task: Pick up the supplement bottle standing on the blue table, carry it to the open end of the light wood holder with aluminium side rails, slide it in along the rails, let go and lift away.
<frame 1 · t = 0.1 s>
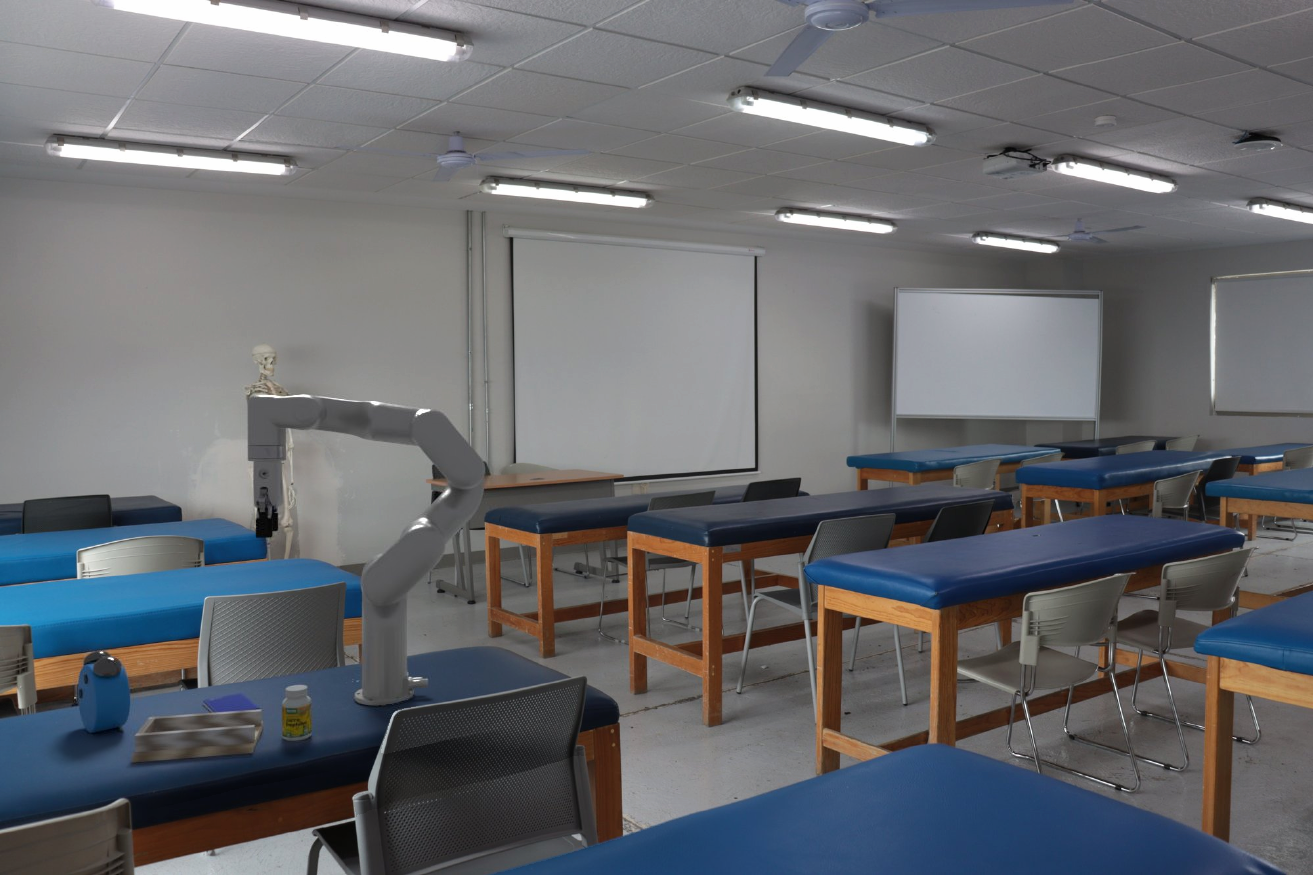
hand: (267, 534, 198), 37 cm above the table, tool pointing down, fingers open, 9 cm apart
hard drive: (231, 711, 198), on the table
rail holder: (201, 743, 177), on the table
alarm clock: (103, 730, 184), on the table
supplement bottle: (296, 737, 181), on the table
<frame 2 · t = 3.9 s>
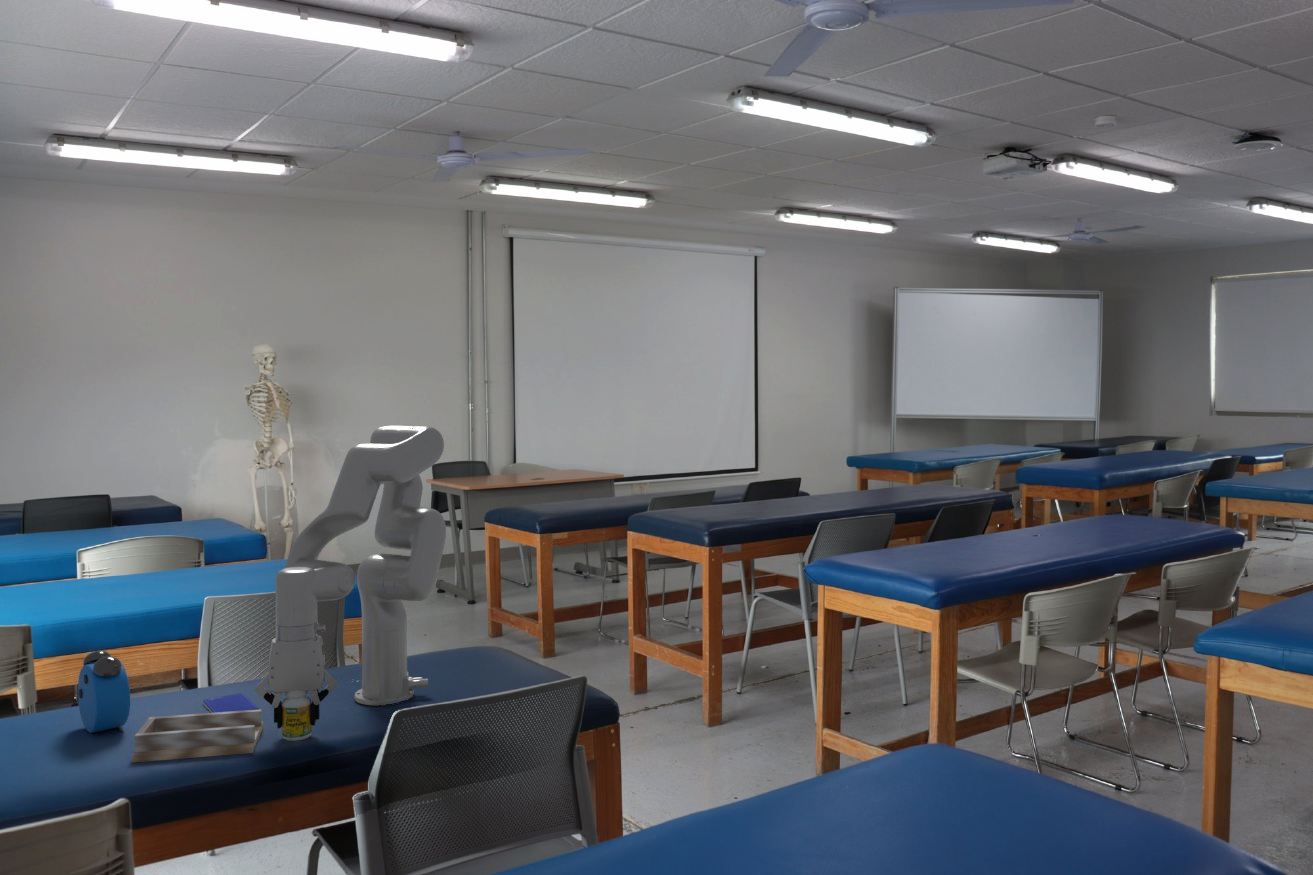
hand: (296, 723, 181), 3 cm above the table, tool pointing down, fingers closed on supplement bottle, 5 cm apart
supplement bottle: (296, 737, 181), on the table, touching gripper
everything else where it was.
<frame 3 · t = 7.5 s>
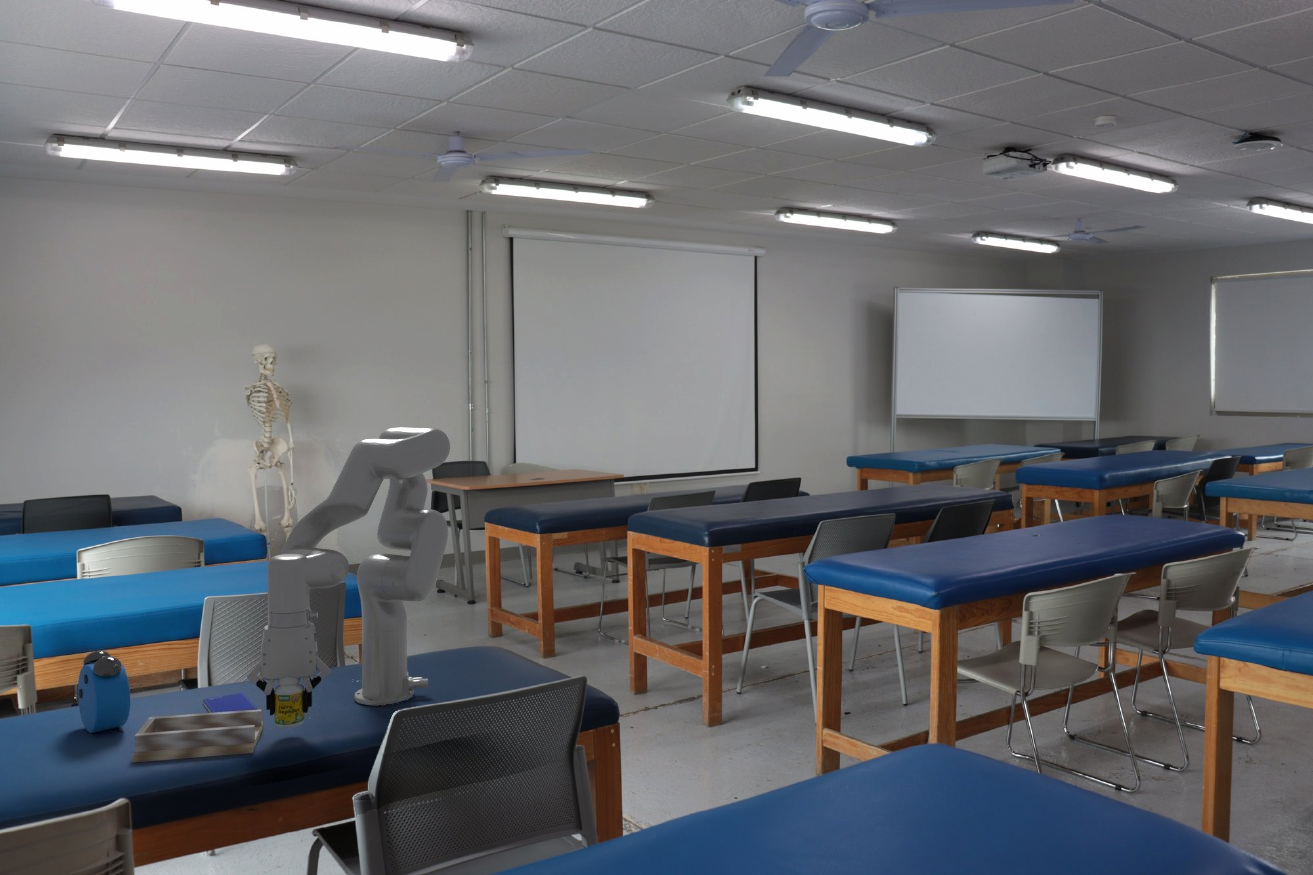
hand: (289, 710, 181), 5 cm above the table, tool pointing down, fingers closed on supplement bottle, 5 cm apart
supplement bottle: (289, 724, 181), point 2 cm above the table, touching gripper
everything else where it was.
when the fingers open (5 cm above the table, at t = 11.6 s): supplement bottle drops 1 cm, resting on rail holder.
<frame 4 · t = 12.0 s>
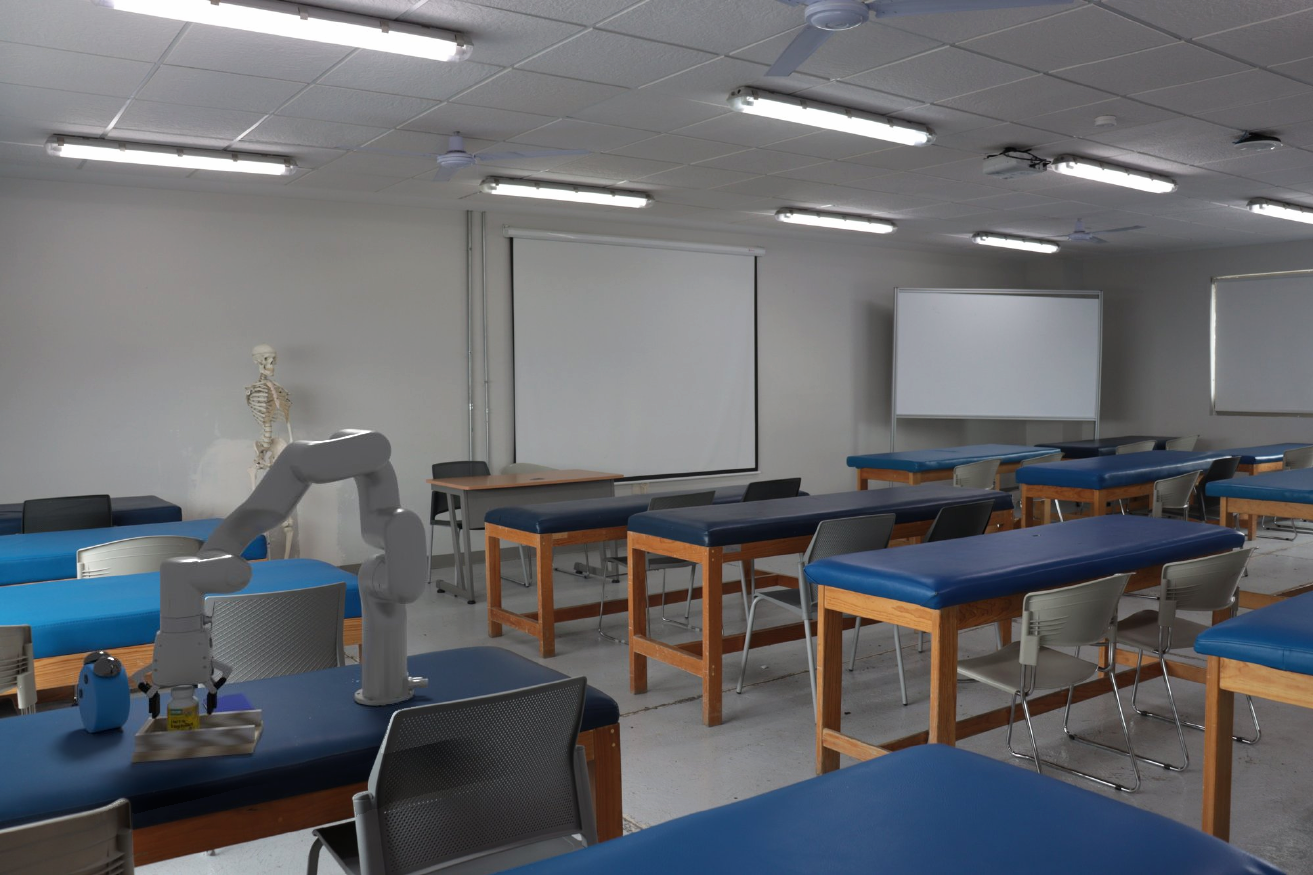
hand: (183, 714, 176), 6 cm above the table, tool pointing down, fingers open, 9 cm apart
supplement bottle: (183, 739, 176), point 1 cm above the table, touching rail holder
everything else where it was.
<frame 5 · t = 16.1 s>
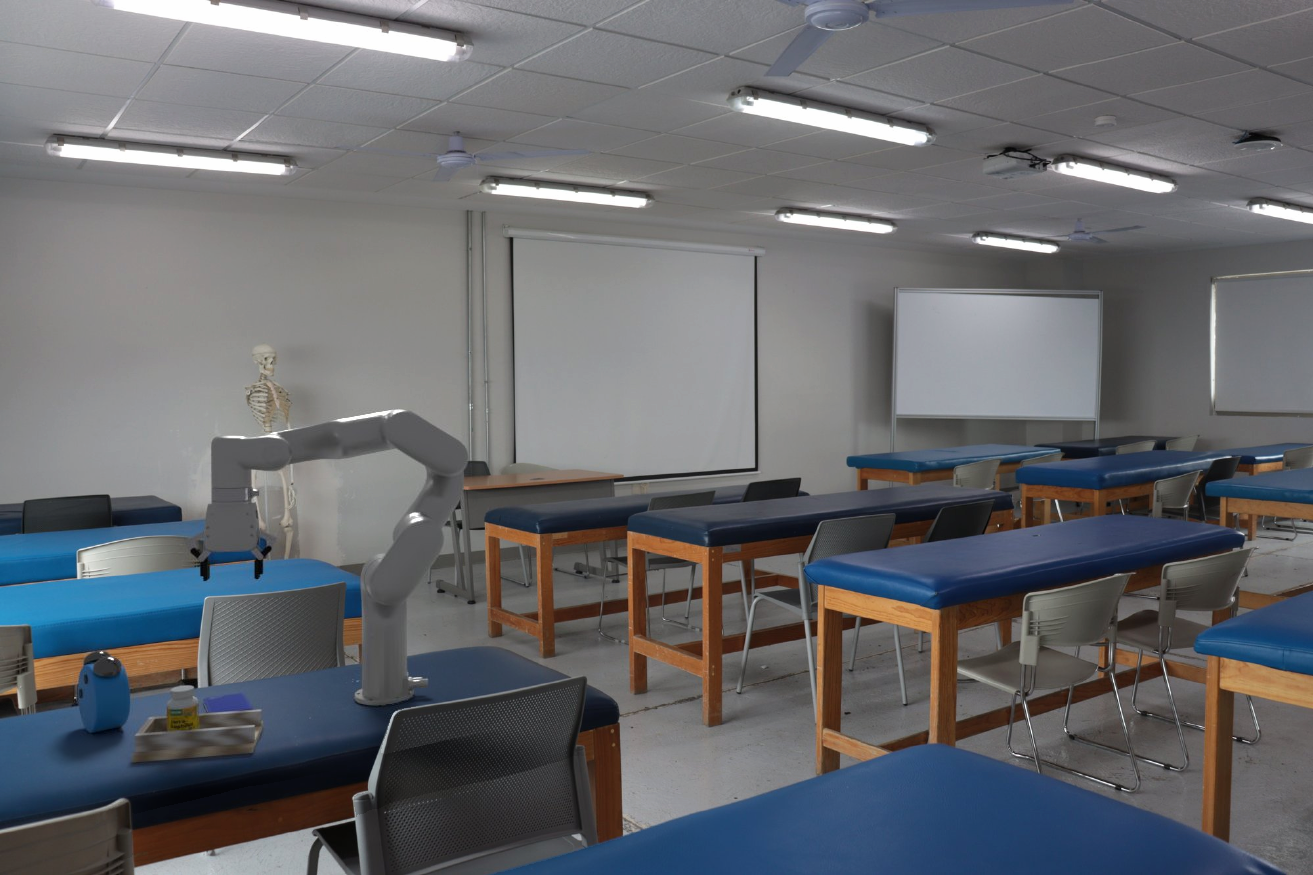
hand: (232, 579, 192), 28 cm above the table, tool pointing down, fingers open, 9 cm apart
nothing on the table moved.
at the end: supplement bottle inside the target area on the rail holder (0.1 cm from its centre), point 1.0 cm above the rail holder's base; supplement bottle tilted 0°; the gripper is holding nothing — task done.
